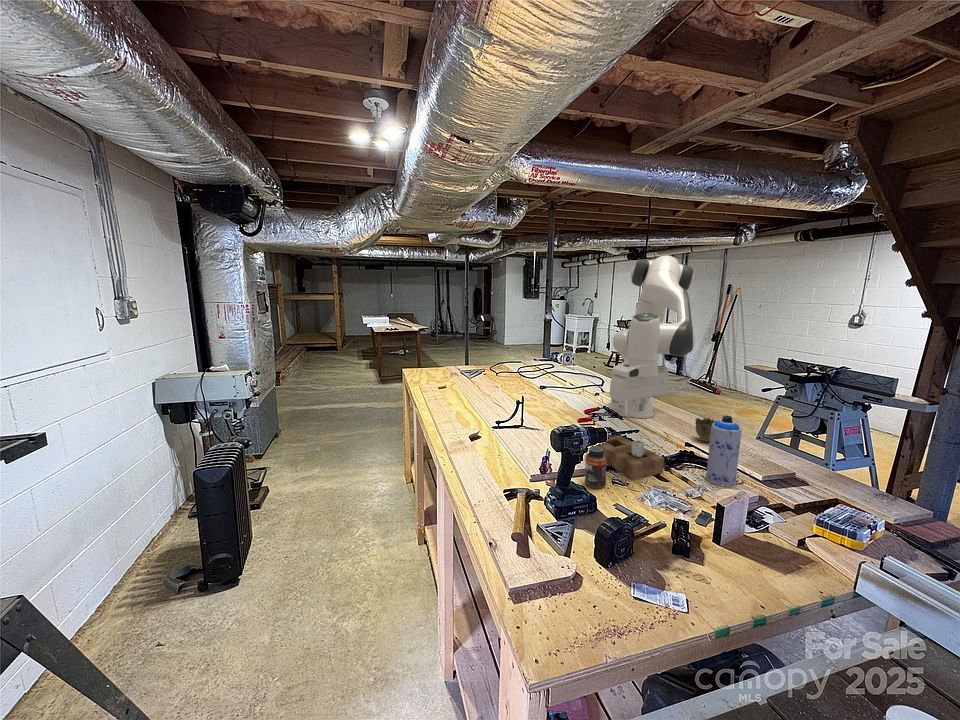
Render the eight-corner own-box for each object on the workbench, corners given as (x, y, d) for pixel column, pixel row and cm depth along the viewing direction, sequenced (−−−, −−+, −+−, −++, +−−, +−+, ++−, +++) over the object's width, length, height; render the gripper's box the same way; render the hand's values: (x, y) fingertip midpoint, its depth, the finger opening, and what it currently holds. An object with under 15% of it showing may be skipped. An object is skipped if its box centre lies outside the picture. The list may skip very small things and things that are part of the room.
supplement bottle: (605, 481, 114) (607, 445, 112) (605, 491, 109) (607, 454, 107) (585, 478, 116) (586, 443, 114) (583, 487, 111) (585, 451, 109)
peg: (627, 468, 122) (629, 441, 121) (636, 466, 124) (638, 439, 122) (636, 472, 119) (637, 445, 117) (645, 470, 120) (646, 444, 119)
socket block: (591, 453, 133) (591, 440, 132) (618, 448, 137) (619, 435, 136) (632, 480, 115) (633, 464, 114) (663, 472, 119) (664, 457, 118)
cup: (710, 437, 146) (712, 417, 144) (720, 445, 139) (722, 424, 137) (690, 436, 147) (692, 417, 145) (699, 444, 139) (701, 423, 138)
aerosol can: (734, 477, 115) (742, 414, 112) (737, 489, 109) (745, 422, 105) (704, 471, 119) (711, 410, 115) (705, 483, 112) (712, 418, 108)
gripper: (660, 362, 122) (656, 404, 124) (607, 368, 115) (605, 412, 117) (676, 366, 116) (672, 409, 119) (622, 372, 109) (619, 418, 112)
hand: (638, 411), depth 118 cm, fingers closed
